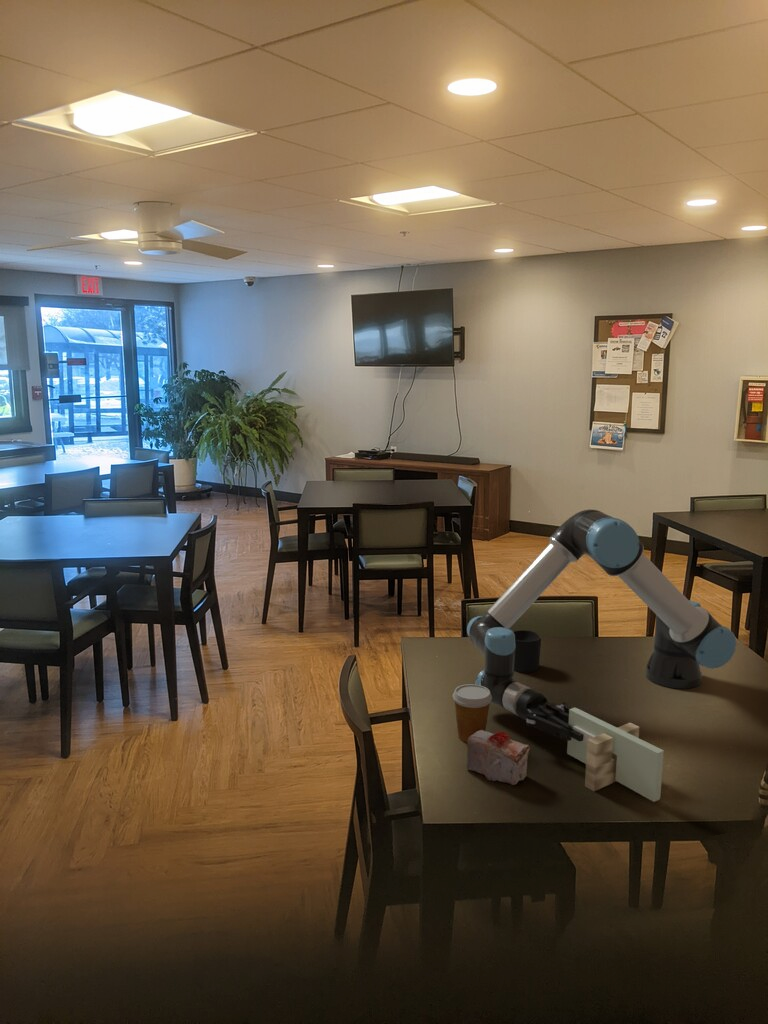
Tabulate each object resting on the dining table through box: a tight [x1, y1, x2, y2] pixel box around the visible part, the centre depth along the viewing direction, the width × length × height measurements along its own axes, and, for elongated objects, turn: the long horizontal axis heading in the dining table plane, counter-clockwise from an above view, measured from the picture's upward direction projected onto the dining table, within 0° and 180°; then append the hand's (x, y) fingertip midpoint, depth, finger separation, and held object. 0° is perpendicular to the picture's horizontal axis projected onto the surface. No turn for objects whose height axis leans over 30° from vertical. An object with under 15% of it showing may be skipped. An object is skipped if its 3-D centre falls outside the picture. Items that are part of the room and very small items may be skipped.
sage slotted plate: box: [566, 707, 665, 803], centre depth 170 cm, size 24×2×11 cm, turn 34°
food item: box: [466, 730, 531, 786], centre depth 173 cm, size 14×8×10 cm, turn 55°
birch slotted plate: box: [584, 722, 640, 792], centre depth 170 cm, size 14×2×11 cm, turn 124°
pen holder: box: [512, 629, 542, 674], centre depth 231 cm, size 9×9×10 cm
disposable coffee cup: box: [452, 683, 492, 744], centre depth 189 cm, size 10×10×12 cm
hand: (600, 741), depth 173 cm, fingers closed on sage slotted plate, 2 cm apart
